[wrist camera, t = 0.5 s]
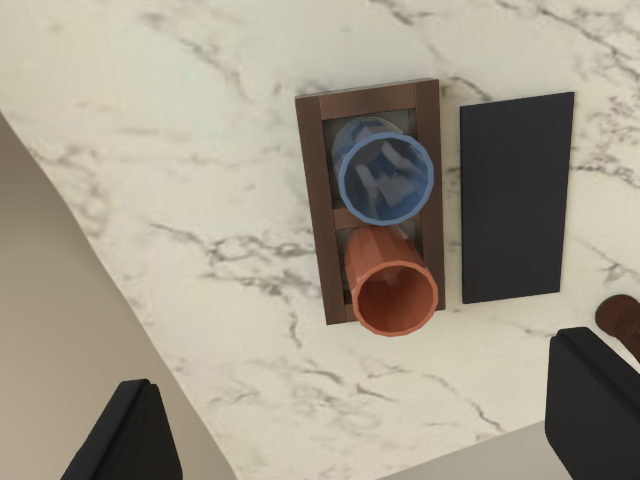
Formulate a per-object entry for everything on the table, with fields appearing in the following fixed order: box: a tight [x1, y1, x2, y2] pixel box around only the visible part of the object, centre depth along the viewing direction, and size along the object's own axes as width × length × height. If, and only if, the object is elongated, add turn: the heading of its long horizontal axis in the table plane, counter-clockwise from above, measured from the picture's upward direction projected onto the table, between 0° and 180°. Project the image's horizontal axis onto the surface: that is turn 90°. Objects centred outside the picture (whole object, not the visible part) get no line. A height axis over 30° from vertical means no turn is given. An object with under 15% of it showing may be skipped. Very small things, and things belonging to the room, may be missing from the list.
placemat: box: [460, 92, 574, 304], centre depth 44 cm, size 20×10×1 cm, turn 7°
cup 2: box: [343, 224, 438, 337], centre depth 41 cm, size 7×7×10 cm
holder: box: [295, 78, 445, 325], centre depth 43 cm, size 12×22×3 cm, turn 7°
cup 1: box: [331, 116, 434, 226], centre depth 37 cm, size 7×7×10 cm
